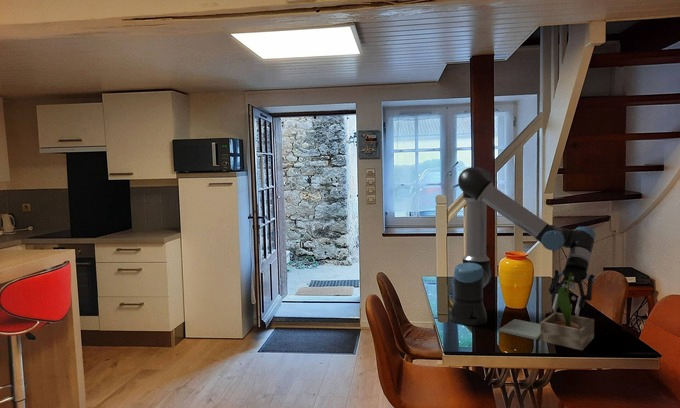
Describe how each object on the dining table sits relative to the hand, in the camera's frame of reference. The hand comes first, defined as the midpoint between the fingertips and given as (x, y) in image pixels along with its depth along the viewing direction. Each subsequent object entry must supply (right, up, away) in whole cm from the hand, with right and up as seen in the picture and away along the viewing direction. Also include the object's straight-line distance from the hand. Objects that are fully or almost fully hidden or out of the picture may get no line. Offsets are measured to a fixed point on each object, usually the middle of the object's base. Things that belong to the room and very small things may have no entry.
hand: (565, 312), depth 159 cm
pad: (-9, -10, +14) cm, 19 cm away
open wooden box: (+3, -11, +3) cm, 12 cm away
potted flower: (+3, -11, +3) cm, 12 cm away
